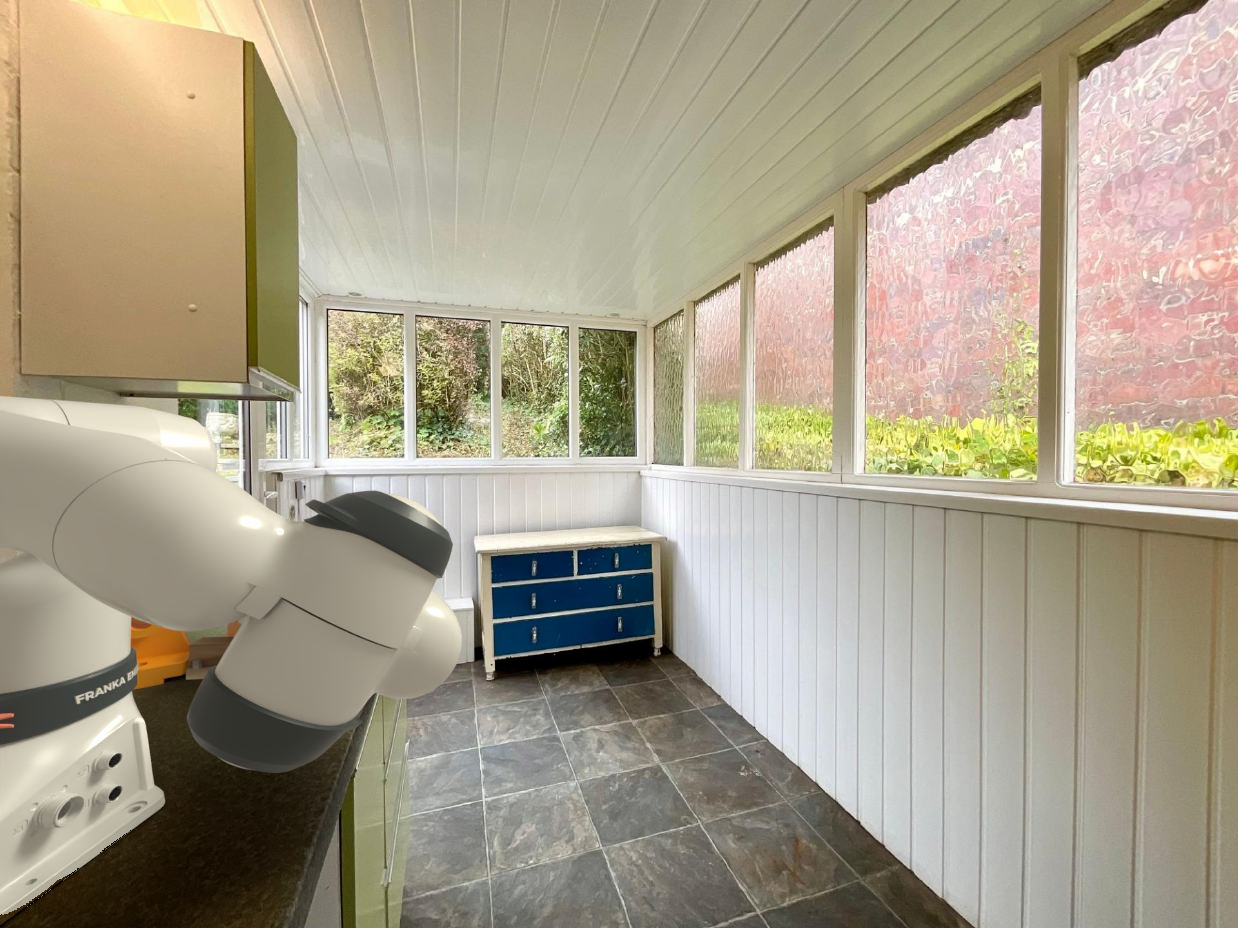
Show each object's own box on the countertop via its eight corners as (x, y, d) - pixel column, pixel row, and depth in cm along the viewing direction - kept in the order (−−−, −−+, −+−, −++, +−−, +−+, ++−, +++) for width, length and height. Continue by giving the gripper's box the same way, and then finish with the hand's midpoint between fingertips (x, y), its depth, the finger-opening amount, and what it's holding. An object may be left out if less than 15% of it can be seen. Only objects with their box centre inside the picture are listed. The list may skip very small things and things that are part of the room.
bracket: (82, 699, 66) (82, 613, 66) (97, 679, 72) (97, 599, 72) (186, 679, 73) (187, 600, 72) (192, 662, 78) (192, 589, 78)
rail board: (252, 676, 74) (252, 643, 74) (185, 679, 72) (185, 646, 72) (330, 617, 100) (330, 593, 100) (282, 619, 99) (282, 594, 99)
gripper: (301, 635, 72) (197, 639, 69) (355, 595, 92) (275, 597, 90) (301, 592, 71) (197, 595, 69) (355, 562, 92) (276, 563, 90)
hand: (242, 596), depth 80 cm, fingers closed on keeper, 3 cm apart
